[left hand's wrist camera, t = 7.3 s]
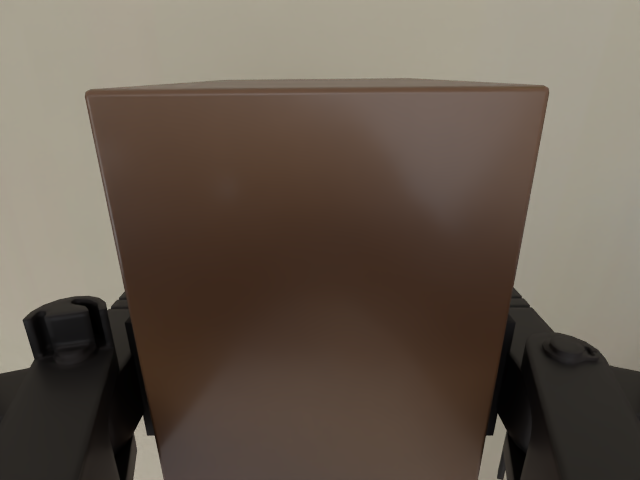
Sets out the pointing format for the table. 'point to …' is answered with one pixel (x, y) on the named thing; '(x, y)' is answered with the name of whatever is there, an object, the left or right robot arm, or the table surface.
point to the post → (319, 267)
